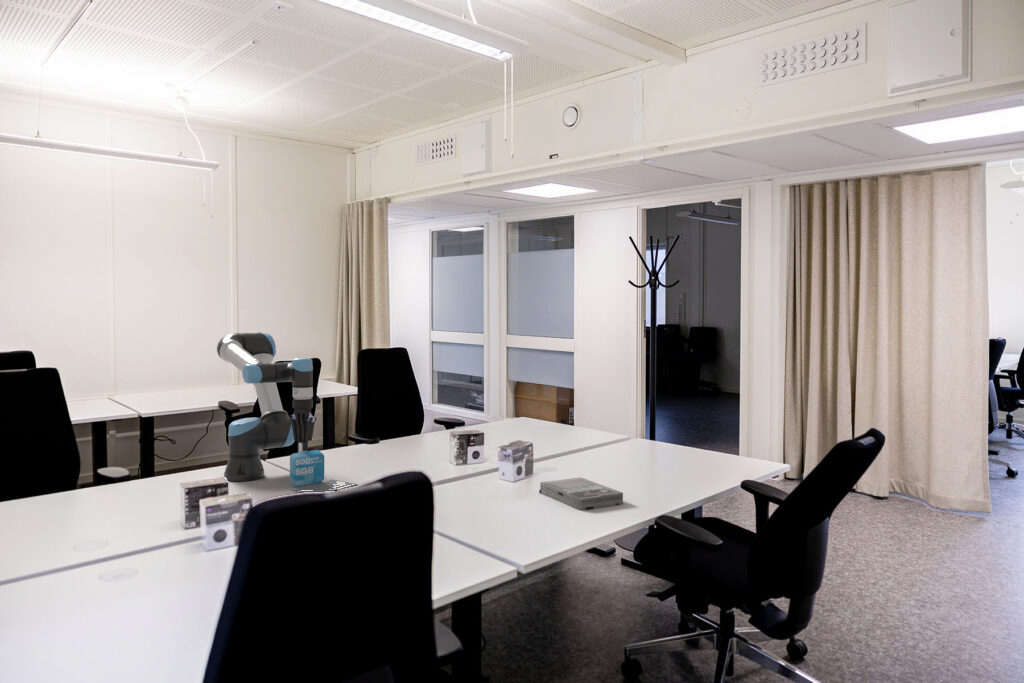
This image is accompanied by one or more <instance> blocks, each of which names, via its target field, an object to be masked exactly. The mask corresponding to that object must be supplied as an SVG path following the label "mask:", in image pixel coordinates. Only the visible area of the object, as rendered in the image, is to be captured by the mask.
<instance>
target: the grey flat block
mask: <svg viewBox="0 0 1024 683" xmlns="http://www.w3.org/2000/svg"><path fill="white" fill-rule="evenodd" d="M539 487H540V488H539V491H538V492H539V494H540V495H543V496H545V497H547V498H550V499H552V500H554V501H557V502H559V503H562V504H564V505H566V506H568V507H571V508H573V509H575V510H578V511H583V512H584V511H588V510H595V509H601V508H602V509H603V508H609V507H615V506H622V505H623V504H624V492H622V491H620V490H617V489H614V488H611V487H608V486H605V485H603V484H599V483H598V482H594V481H592V480H590V479H586V478H585V477H584V478H583V477H572V478H564V479H557V480H546V481H540V485H539Z"/></svg>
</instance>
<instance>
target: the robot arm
mask: <svg viewBox="0 0 1024 683" xmlns="http://www.w3.org/2000/svg"><path fill="white" fill-rule="evenodd" d="M276 347H277V346H276V342H275V339H274V337H273V336H272V335H271V334H269V333H267V332H260V331H258V332H231V333H228V334H226V335H224V336H222V338H221V339H220V340H219V341H218V343H217V345H216V352H217V355H218V356H219V358H221V360H223V361H224V362H226V363H230V364H232V365H233V366H234V367H236V368H237V369H238V370H239V371H241V373H242V378H243V381H244V383H246V384H253V385H254V389H255V392H256V396H257V401H258V404H259V409H260V412H261V416H260V417H256V416H255V417H244V418H240V419H235V420H234V421H232V422H231V423H230V424H229V425H228V434H227V436H228V460H227V463H226V466H225V469H224V471H223V472H224V473H223V478H224V477H226V478H227V479H228V480H229V482H248V481H255V480H259V479H258V478H260V479H262V478H264V477H265V469H264V465H263V463H262V460H261V457H260V456H261V455H260V451H261V450H267V449H276V448H284V447H289V446H292V445H293V444H294V443H295V441H297V449H298V453H300V452H306V451H309V446H308V445H309V444H308V443H309V442H312V440H313V436H314V428H315V423H316V421H317V417H316V416H313V414H312V409H313V406H314V400H313V397H314V389H313V388H314V387H313V383H314V382H313V380H314V377H313V375H314V374H313V373H314V372H313V370H314V366H313V359H311V358H309V357H307V358H306V357H305V358H304V357H300V358H297V357H296V358H293V359H292V361H286V362H273V361H274V358H275V357H276V353H277V349H276ZM285 382H286V383H287V382H289V383H291V382H292V398H293V399H292V409H293V410H294V411H293V414H291V415H290V414H289V413H288V412H287V411H286V410H284V408H283V405H282V401H281V397H280V394H279V390H278V387H277V383H285ZM263 476H264V477H263ZM261 477H262V478H261ZM254 479H255V480H254ZM228 480H227V481H228Z"/></svg>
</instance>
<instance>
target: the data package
mask: <svg viewBox="0 0 1024 683" xmlns="http://www.w3.org/2000/svg"><path fill="white" fill-rule="evenodd" d="M324 480H325V454H323V452H322V451H321V450H319V449H315V450H307V451H306V452H300V453H299V452H293V453H292V454H290V456H289V481H290V483H291V484H292V485H293V487H296V488H297V487H298V488H299V487H304V486H308V485H312V484H316V483H321V482H324Z"/></svg>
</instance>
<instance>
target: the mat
mask: <svg viewBox="0 0 1024 683" xmlns="http://www.w3.org/2000/svg"><path fill="white" fill-rule="evenodd" d="M337 481H339V482H340V481H342V482H345V484H346V485H343V486H339V485H335V486H339V487H336V489H335V490H339V489H337V488H340V487H344V486H347V485H351V486H348V487H350V488H353V487H357V486H359V483H354V482H349V481H343V480H337V479H329V480H325V481H324V480H323V481H322V482H321V483H315V484H310V485H304V486H299V487H298V488H297V487H296V488H292V489H291V492H295V491H300V492H299V494H303V493H302V492H325V491H335V490H329V489H334V488H332V487H334V485H333V484H337V483H336V482H337ZM352 484H354V485H352ZM356 485H357V486H356ZM352 486H353V487H352ZM348 487H344V488H346V489H349V488H348ZM341 489H342V490H344V489H343V488H341ZM301 490H313V491H301ZM339 491H340V490H339ZM335 492H336V491H335Z"/></svg>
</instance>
